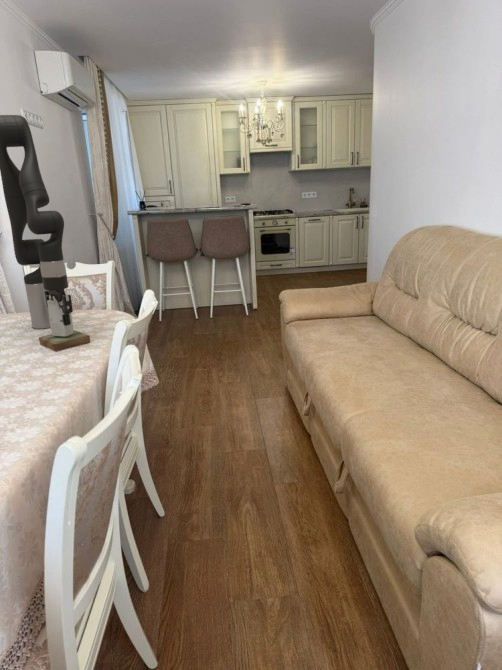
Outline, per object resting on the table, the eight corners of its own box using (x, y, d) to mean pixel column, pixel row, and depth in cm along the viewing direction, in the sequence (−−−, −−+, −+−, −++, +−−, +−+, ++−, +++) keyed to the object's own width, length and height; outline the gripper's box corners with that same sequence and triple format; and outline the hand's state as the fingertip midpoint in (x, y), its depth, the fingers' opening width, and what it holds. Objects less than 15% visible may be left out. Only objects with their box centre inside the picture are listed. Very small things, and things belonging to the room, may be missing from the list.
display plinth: (39, 344, 152) (38, 337, 151) (73, 335, 161) (72, 329, 160) (56, 351, 144) (55, 344, 144) (90, 342, 153) (89, 335, 152)
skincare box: (51, 335, 150) (45, 300, 147) (60, 331, 154) (54, 297, 151) (66, 337, 149) (60, 301, 145) (75, 333, 153) (70, 298, 149)
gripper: (32, 273, 147) (41, 322, 152) (53, 278, 138) (61, 329, 143) (55, 270, 153) (62, 317, 158) (75, 274, 143) (83, 324, 148)
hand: (61, 322), depth 150 cm, fingers closed on skincare box, 7 cm apart
